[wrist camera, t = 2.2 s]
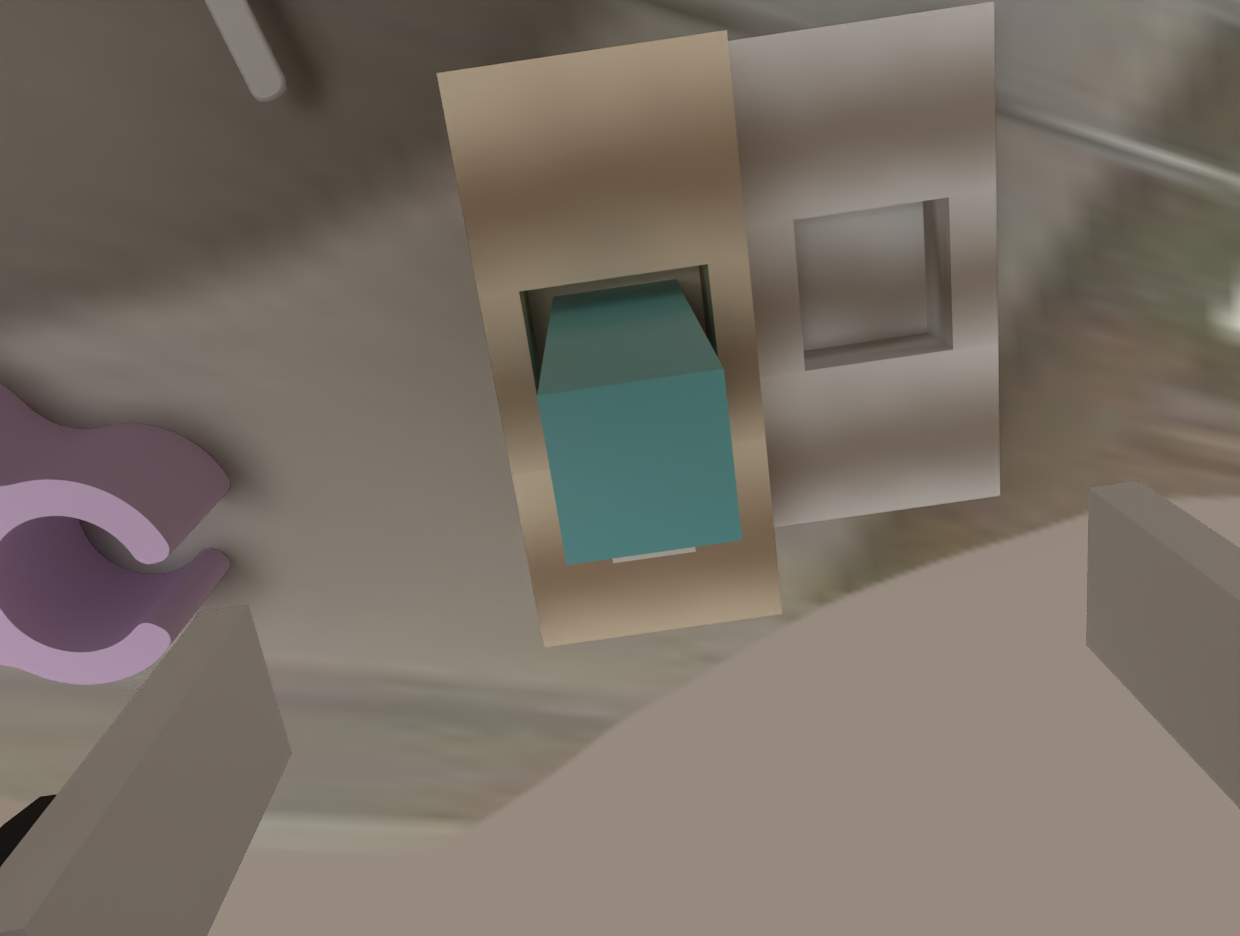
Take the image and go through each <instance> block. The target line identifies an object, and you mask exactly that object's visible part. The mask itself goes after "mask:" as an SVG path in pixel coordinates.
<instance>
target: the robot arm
mask: <svg viewBox="0 0 1240 936" xmlns="http://www.w3.org/2000/svg"><path fill="white" fill-rule="evenodd" d="M1088 521H1089V522H1088V575H1087V576H1088V577H1087V632H1086V645H1087V646H1088V647H1089V648H1090V649H1091V651H1092V652H1093V653H1094V654H1095V655H1096V656H1097V657H1098V658H1099V659H1100V660H1101V661H1102V662H1103V663H1104V664H1105V665H1106V667H1107V668H1108V669H1110V671H1111V672H1112V673H1113V674H1114V675H1115V676H1116V677H1117V678H1118V679H1119V680H1120V681H1121V683H1122V684H1123V685H1124V686H1125V687H1126V688H1127V689H1128V690H1129V691H1130V692H1131V693H1132V694H1133V695H1134V696H1135V698H1136V699H1137V700H1138V701H1139V702H1140V703H1141V704H1142V705H1143V706H1144V707H1145V708H1146V709H1147V710H1148V711H1149V712H1150V713H1151V715H1152V716H1153V717H1154V718H1155V719H1156V720H1157V721H1158V722H1159V723H1160V724H1161V725H1162V726H1163V727H1164V728H1165V730H1166V731H1167V732H1168V733H1169V734H1170V735H1171V736H1172V737H1173V738H1174V739H1175V740H1176V741H1177V742H1178V743H1179V745H1180V746H1181V747H1182V748H1183V749H1184V750H1185V751H1186V752H1187V753H1188V754H1189V755H1190V756H1191V757H1192V758H1193V759H1194V761H1196V763H1197V764H1198V765H1200V767H1201V768H1202V769H1203V770H1204V771H1205V772H1206V773H1207V774H1208V775H1209V777H1210V778H1211V779H1212V780H1213V781H1214V782H1215V783H1216V784H1217V785H1218V786H1219V787H1220V788H1221V789H1222V790H1223V791H1224V793H1225V794H1226V795H1227V796H1228V797H1229V798H1230V799H1231V800H1232V801H1233V802H1234V803H1235V804H1236V805H1237V806H1238V808H1239V809H1240V548H1239V547H1237V546H1236V545H1234V544H1233V543H1231V542H1230V541H1228V540H1227V539H1225V538H1224V537H1222V536H1221V535H1219V534H1218V533H1216V532H1215V531H1213V530H1212V529H1210V528H1209V527H1207V526H1206V525H1204V524H1203V523H1201V522H1200V521H1198V520H1197V519H1195V518H1194V517H1192V516H1191V515H1189V514H1188V513H1186V512H1185V511H1183V510H1182V509H1180V508H1179V507H1177V506H1176V505H1174V504H1173V503H1171V502H1170V501H1168V500H1167V499H1165V498H1164V497H1162V496H1161V495H1159V494H1158V493H1156V492H1155V491H1153V490H1152V489H1150V488H1149V487H1147V486H1146V485H1144V484H1143V483H1141V482H1140V481H1134V482H1127V483H1120V484H1113V485H1105V486H1098V487H1091V488H1089V518H1088ZM291 754H292V752H291V749H290V745H289V742H288V738H287V735H286V731H285V728H284V725H283V721H282V718H281V714H280V711H279V707H278V704H277V701H276V697H275V694H274V690H273V687H272V684H271V680H270V677H269V673H268V670H267V666H266V663H265V660H264V656H263V653H262V649H261V646H260V642H259V639H258V636H257V632H256V629H255V625H254V622H253V619H252V615H251V612H250V608H249V605H243V606H236V607H229V608H222V609H215V610H207V611H200V612H199V614H198V615H197V616H196V618H195V619H194V620H193V621H192V623H191V624H190V625H189V627H188V628H187V629H186V630H185V632H184V633H183V634H182V635H181V637H180V638H179V639H178V641H177V642H176V643H175V644H174V646H173V647H172V648H171V650H170V651H169V652H168V653H167V655H166V656H165V657H164V658H163V660H162V661H161V662H160V664H159V665H158V666H157V667H156V669H155V670H154V671H153V673H152V674H151V675H150V676H149V678H148V679H147V680H146V682H145V683H144V684H143V685H142V687H141V688H140V689H139V690H138V692H137V693H136V694H135V696H134V697H133V698H132V699H131V701H130V702H129V703H128V705H127V706H126V707H125V708H124V710H123V711H122V712H121V713H120V715H119V716H118V717H117V719H116V720H115V721H114V722H113V724H112V725H111V726H110V728H109V729H108V730H107V731H106V733H105V734H104V735H103V737H102V738H101V739H100V740H99V742H98V743H97V744H96V745H95V747H94V748H93V749H92V751H91V752H90V753H89V754H88V756H87V757H86V758H85V760H84V761H83V762H82V763H81V765H80V766H79V767H78V768H77V770H76V771H75V772H74V774H73V775H72V776H71V777H70V779H69V780H68V781H67V783H66V784H65V785H64V786H63V788H62V789H61V790H60V792H59V793H58V794H57V795H50V796H42V797H39V798H38V799H37V800H35V801H34V802H33V803H31V804H30V805H29V806H27V807H26V808H25V809H24V810H22V811H21V812H20V813H18V814H17V815H16V816H14V817H13V818H12V819H10V820H9V821H8V822H6V823H5V824H4V825H3V826H2V827H1V828H0V936H207V935H208V932H209V930H210V928H211V926H212V924H213V922H214V920H215V917H216V915H217V913H218V911H219V909H220V906H221V904H222V902H223V900H224V898H225V896H226V894H227V892H228V889H229V887H230V885H231V883H232V881H233V879H234V876H235V874H236V872H237V870H238V868H239V866H240V864H241V862H242V859H243V857H244V855H245V853H246V851H247V849H248V846H249V844H250V842H251V840H252V838H253V836H254V834H255V831H256V829H257V827H258V825H259V823H260V821H261V819H262V816H263V814H264V812H265V810H266V808H267V806H268V803H269V801H270V799H271V797H272V795H273V793H274V791H275V788H276V786H277V784H278V782H279V780H280V778H281V776H282V773H283V771H284V769H285V767H286V765H287V763H288V760H289V758H290V756H291Z"/></svg>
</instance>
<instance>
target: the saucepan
mask: <svg viewBox="0 0 1240 936" xmlns="http://www.w3.org/2000/svg"><path fill="white" fill-rule="evenodd" d="M204 1H205V3H206V5H207V7H208V9H209V11H210V13H211V15H212V17H213V19H214V21H215V23H216V25H217V27H218V29H219V31H220V33H221V35H222V37H223V39H224V41H225V43H226V45H227V46H228V48H229V50H230V52H231V54H232V56H233V58H234V60H235V62H236V64H237V66H238V68H239V70H240V72H241V74H242V76H243V78H244V80H245V82H246V84H247V86H248V88H249V90H250V92H251V94H252V95H253V96H254V97H255V98H256V99H257V100H258V101H259V102H271V101H273V100H275V99H277V98H279V97H281V96H282V95H283V94H284V93H285V91H286V90H287V83H286V78H285V76H284V74H283V72H282V70H281V68H280V66H279V64H278V62H277V60H276V58H275V56H274V54H273V52H272V49H271V47H270V45H269V43H268V41H267V39H266V37H265V35H264V33H263V31H262V29H261V27H260V25H259V23H258V21H257V19H256V17H255V15H254V13H253V11H252V9H251V7H250V5H249V3H248V1H247V0H204Z"/></svg>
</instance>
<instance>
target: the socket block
mask: <svg viewBox="0 0 1240 936" xmlns="http://www.w3.org/2000/svg"><path fill="white" fill-rule="evenodd" d="M437 78H438V83H439V89H440V94H441V99H442V105H443V110H444V115H445V121H446V126H447V131H448V137H449V142H450V147H451V153H452V158H453V163H454V169H455V174H456V179H457V185H458V190H459V195H460V201H461V206H462V211H463V217H464V222H465V228H466V233H467V238H468V244H469V249H470V254H471V260H472V265H473V270H474V276H475V281H476V286H477V292H478V297H479V302H480V308H481V313H482V318H483V324H484V329H485V334H486V340H487V345H488V350H489V356H490V361H491V366H492V372H493V377H494V383H495V388H496V393H497V399H498V404H499V409H500V415H501V420H502V425H503V431H504V436H505V441H506V447H507V452H508V457H509V463H510V468H511V473H512V479H513V484H514V489H515V495H516V500H517V505H518V511H519V516H520V521H521V527H522V532H523V538H524V543H525V548H526V554H527V559H528V564H529V570H530V575H531V580H532V586H533V591H534V596H535V602H536V607H537V612H538V618H539V623H540V628H541V634H542V639H543V644H544V647H551V646H558V645H565V644H572V643H579V642H587V641H594V640H601V639H608V638H615V637H622V636H629V635H636V634H644V633H651V632H658V631H665V630H672V629H679V628H686V627H693V626H701V625H708V624H715V623H722V622H729V621H736V620H743V619H751V618H758V617H765V616H772V615H779V614H782V606H781V595H780V585H779V574H778V564H777V553H776V543H775V532H774V528H775V527H782V526H789V525H796V524H803V523H810V522H817V521H824V520H831V519H838V518H845V517H852V516H860V515H867V514H874V513H881V512H888V511H895V510H902V509H909V508H916V507H923V506H930V505H937V504H944V503H951V502H958V501H966V500H973V499H980V498H987V497H994V496H1000V446H999V364H998V281H997V198H996V116H995V33H994V2H987V3H980V4H973V5H967V6H960V7H953V8H946V9H940V10H933V11H926V12H920V13H913V14H906V15H899V16H893V17H886V18H879V19H872V20H866V21H859V22H852V23H846V24H839V25H832V26H825V27H819V28H812V29H805V30H798V31H792V32H785V33H778V34H771V35H765V36H758V37H751V38H745V39H738V40H731V41H728V37H727V30H723V31H717V32H710V33H703V34H697V35H690V36H683V37H676V38H670V39H663V40H656V41H650V42H643V43H636V44H629V45H623V46H616V47H609V48H602V49H596V50H589V51H582V52H576V53H569V54H562V55H555V56H549V57H542V58H535V59H529V60H522V61H515V62H508V63H502V64H495V65H488V66H481V67H475V68H468V69H461V70H455V71H448V72H441V73H437ZM671 279H676V281H677V283H678V285H679V287H680V289H681V290H682V292H683V294H684V296H685V298H686V300H687V301H688V303H689V305H690V307H691V309H692V311H693V313H694V314H695V316H696V318H697V320H698V322H699V324H700V326H701V327H702V329H703V331H704V333H705V335H706V337H707V339H708V340H709V342H710V344H711V346H712V348H713V350H714V352H715V353H716V355H717V357H718V359H719V361H720V363H721V364H722V366H723V368H724V375H725V384H726V394H727V403H728V412H729V422H730V431H731V440H732V450H733V459H734V468H735V478H736V487H737V496H738V506H739V515H740V524H741V534H742V540H740V541H733V542H726V543H719V544H712V545H705V546H698V547H695V549H696V552H690V553H683V554H676V555H668V556H661V557H654V558H647V559H640V560H633V561H626V562H619V563H613V559H606V560H599V561H592V562H585V563H578V564H571V565H566V560H565V554H564V548H563V542H562V537H561V531H560V525H559V519H558V513H557V508H556V502H555V496H554V490H553V485H552V479H551V473H550V467H549V461H548V456H547V450H546V444H545V438H544V433H543V427H542V421H541V415H540V410H539V404H538V398H537V393H538V387H539V381H540V375H541V369H542V362H543V356H544V350H545V344H546V338H547V331H548V325H549V319H550V313H551V307H552V301H553V297H554V296H561V295H568V294H575V293H582V292H589V291H596V290H603V289H610V288H616V287H623V286H630V285H637V284H644V283H651V282H658V281H665V280H671Z"/></svg>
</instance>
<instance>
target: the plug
mask: <svg viewBox="0 0 1240 936" xmlns="http://www.w3.org/2000/svg"><path fill="white" fill-rule="evenodd" d="M537 398H538V404H539V410H540V415H541V421H542V427H543V433H544V438H545V444H546V450H547V456H548V461H549V467H550V473H551V479H552V485H553V490H554V496H555V502H556V508H557V513H558V519H559V525H560V531H561V537H562V542H563V548H564V554H565V560H566V565H571V564H578V563H585V562H592V561H599V560H606V559H613V563H619V562H626V561H633V560H640V559H647V558H654V557H661V556H668V555H676V554H683V553H690V552H696V549H695V547H698V546H705V545H712V544H719V543H726V542H733V541H740V540H742V534H741V524H740V515H739V506H738V496H737V487H736V478H735V468H734V459H733V450H732V440H731V431H730V422H729V412H728V403H727V394H726V384H725V375H724V368H723V366H722V364H721V363H720V361H719V359H718V357H717V355H716V353H715V352H714V350H713V348H712V346H711V344H710V342H709V340H708V339H707V337H706V335H705V333H704V331H703V329H702V327H701V326H700V324H699V322H698V320H697V318H696V316H695V314H694V313H693V311H692V309H691V307H690V305H689V303H688V301H687V300H686V298H685V296H684V294H683V292H682V290H681V289H680V287H679V285H678V283H677V281H676V279H671V280H665V281H658V282H651V283H644V284H637V285H630V286H623V287H616V288H610V289H603V290H596V291H589V292H582V293H575V294H568V295H561V296H554V297H553V301H552V307H551V313H550V319H549V325H548V331H547V338H546V344H545V350H544V356H543V362H542V369H541V375H540V381H539V387H538V393H537Z"/></svg>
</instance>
